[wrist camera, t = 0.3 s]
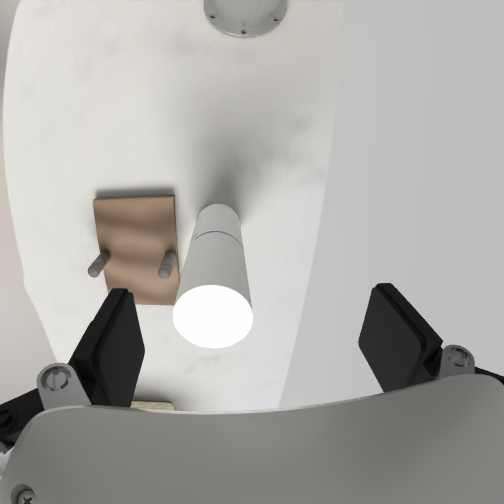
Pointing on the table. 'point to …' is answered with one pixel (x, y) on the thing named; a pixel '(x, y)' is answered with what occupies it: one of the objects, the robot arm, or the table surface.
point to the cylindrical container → (214, 282)
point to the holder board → (138, 247)
